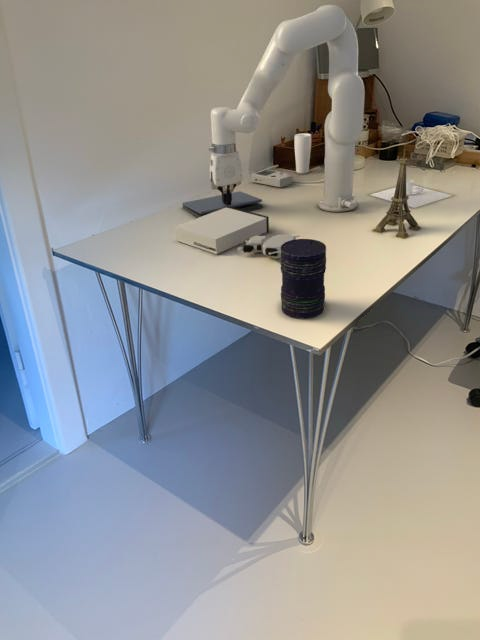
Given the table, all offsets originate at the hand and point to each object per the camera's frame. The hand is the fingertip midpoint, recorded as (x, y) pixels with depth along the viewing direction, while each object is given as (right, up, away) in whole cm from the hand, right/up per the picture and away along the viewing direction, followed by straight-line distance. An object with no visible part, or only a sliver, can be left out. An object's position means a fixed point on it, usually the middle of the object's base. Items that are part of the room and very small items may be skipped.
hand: (227, 203), depth 183 cm
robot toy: (+12, -21, -31) cm, 40 cm away
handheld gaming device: (+17, +14, +29) cm, 37 cm away
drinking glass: (+30, +22, +41) cm, 55 cm away
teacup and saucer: (+65, +5, +8) cm, 65 cm away
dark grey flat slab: (-2, 0, +5) cm, 6 cm away
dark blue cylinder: (+19, -37, -60) cm, 73 cm away
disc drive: (-1, -14, -19) cm, 23 cm away
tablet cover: (-2, +1, +5) cm, 5 cm away
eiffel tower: (+51, -12, -20) cm, 57 cm away
